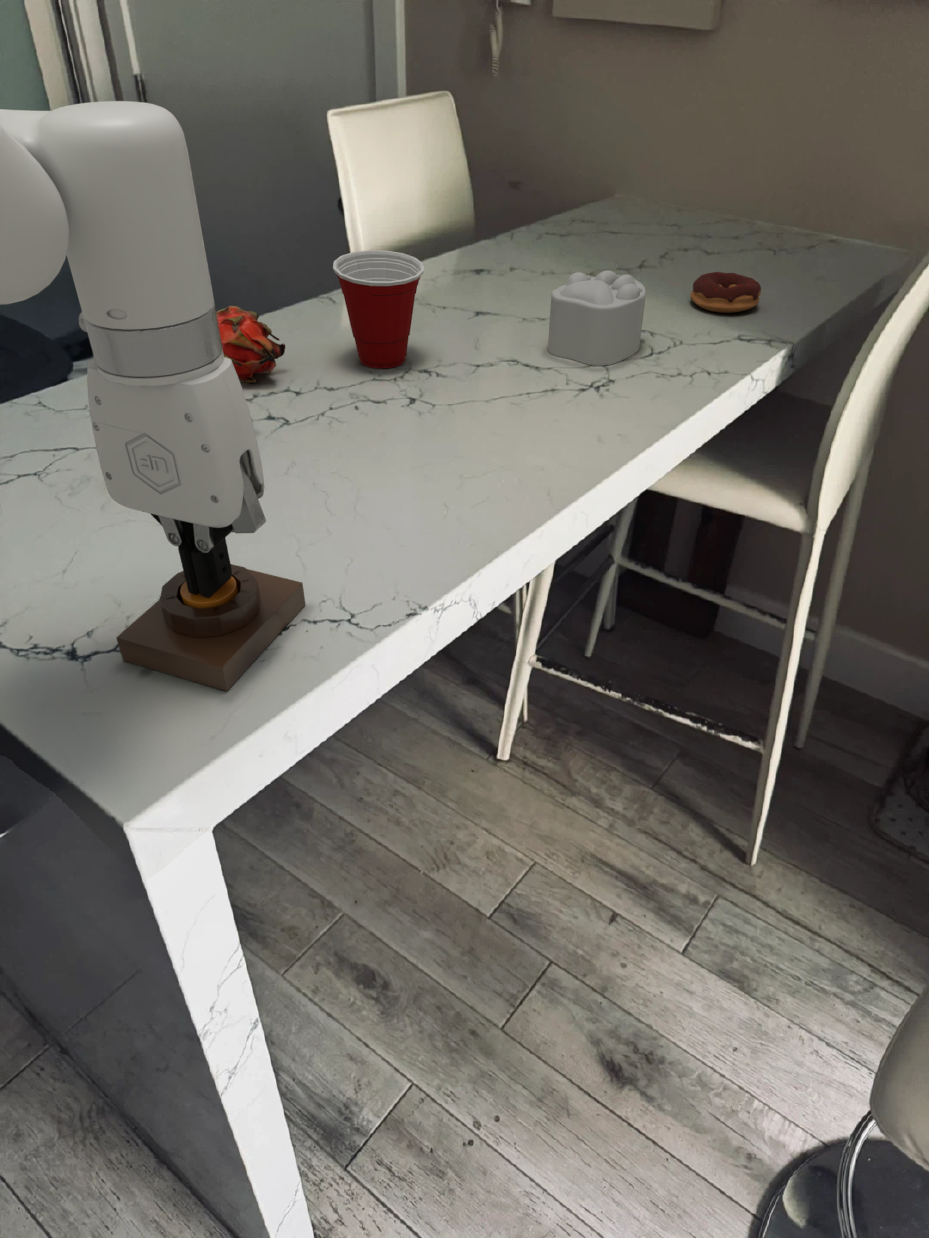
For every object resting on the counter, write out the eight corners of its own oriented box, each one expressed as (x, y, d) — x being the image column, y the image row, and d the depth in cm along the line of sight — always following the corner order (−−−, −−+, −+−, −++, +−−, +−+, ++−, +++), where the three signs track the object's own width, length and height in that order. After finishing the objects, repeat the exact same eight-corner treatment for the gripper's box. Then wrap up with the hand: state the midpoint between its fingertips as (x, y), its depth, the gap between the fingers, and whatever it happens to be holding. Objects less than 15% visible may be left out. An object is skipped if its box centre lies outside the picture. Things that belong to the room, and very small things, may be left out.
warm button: (219, 627, 63) (215, 607, 62) (173, 614, 64) (168, 595, 63) (250, 596, 66) (246, 577, 65) (205, 585, 67) (201, 566, 66)
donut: (696, 291, 133) (700, 264, 130) (762, 299, 130) (768, 271, 127) (682, 311, 125) (686, 282, 123) (752, 320, 122) (757, 291, 120)
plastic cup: (372, 385, 104) (365, 282, 97) (324, 358, 111) (314, 260, 103) (444, 363, 109) (443, 264, 102) (394, 339, 116) (389, 244, 109)
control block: (227, 691, 61) (217, 647, 59) (122, 660, 64) (109, 617, 61) (305, 604, 69) (300, 563, 67) (210, 580, 72) (201, 539, 70)
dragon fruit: (223, 369, 112) (279, 410, 106) (170, 346, 104) (227, 389, 99) (253, 309, 110) (311, 347, 104) (201, 281, 103) (260, 321, 97)
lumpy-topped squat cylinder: (537, 350, 113) (540, 282, 108) (591, 323, 121) (596, 258, 116) (606, 370, 108) (613, 299, 103) (657, 340, 116) (666, 273, 111)
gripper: (14, 344, 52) (94, 591, 64) (226, 380, 48) (272, 639, 59) (99, 306, 58) (159, 539, 69) (296, 335, 53) (325, 579, 65)
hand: (211, 585), depth 64 cm, fingers closed
